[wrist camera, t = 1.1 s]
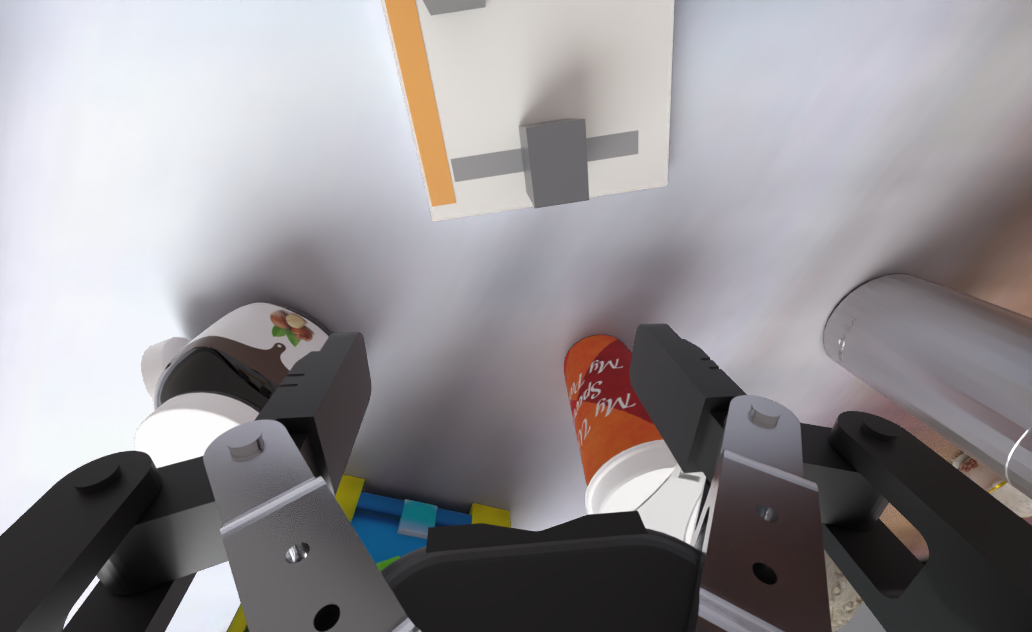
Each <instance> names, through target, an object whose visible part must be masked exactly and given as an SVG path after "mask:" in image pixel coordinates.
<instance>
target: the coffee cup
mask: <svg viewBox="0 0 1032 632" xmlns="http://www.w3.org/2000/svg"><path fill="white" fill-rule="evenodd" d="M631 359H632V353H631V352H630V350H629V349H628V348H627V347H626V346H625V345H624V344H623V343H622V342H621V341H620V340H618V339H617V338H615V337H612V336H609V335H593V336H589V337H587V338H584V339H582V340H580V341H579V342H577V343H576V344H575V345H574V346H573V347H572V348H571V349H570V350H569V352H568V353H567V355H566V358H565V362H564V373H565V380H566V385H567V391H568V396H569V401H570V406H571V411H572V416H573V421H574V425H575V430H576V435H577V440H578V445H579V450H580V454H581V459H582V464H583V469H584V474H585V479H586V483H587V490H586V494H585V505H586V510H587V513H588V515H589V514H601V513H614V512H626V511H638V512H639V514H640V517H641V519H642V521H643V524H644V526H645V528H647V529H652V530H655V531H659V532H663V533H665V534H668V535H671V536H673V537H676V538H678V539H680V540H682V541H684V542H686V543H688V544H690V542H691V537H692V533H693V528H694V524H695V519H696V515H697V510H698V506H699V501H700V497H701V492H702V488H703V484H704V481H705V478H706V476H705V475H704V473H703V472H694V473H683V471H682V469H681V468H680V466H679V464H678V463H677V461H676V459H675V458H674V456H673V455H672V453H671V451H670V450H669V448H668V446H667V445H666V443H665V441H664V440H663V438H662V436H661V435H660V433H659V431H658V430H657V428H656V426H655V425H654V423H653V421H652V420H651V418H650V416H649V415H648V413H647V411H646V410H645V408H644V406H643V405H642V403H641V401H640V400H639V398H638V396H637V395H636V393H635V391H634V390H633V388H632V385H631V381H630V364H631Z"/></svg>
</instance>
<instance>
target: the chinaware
mask: <svg viewBox="0 0 1032 632" xmlns="http://www.w3.org/2000/svg"><path fill="white" fill-rule="evenodd" d="M951 461H953V466H954V467H955V468H957V469H958V470H959V471H960V472H962V473H963V474H964V475H966V476H967V477H968V478H970V479H971V480H972V481H974V482H975V483H976V484H978V485H979V486H980V487H982V488H983V489H984V490H985V491H987V492H988V493H989V494H991V495H992V496H993V497H995V498H996V499H997V500H999V501H1000V502H1001V503H1003V504H1004V505H1005V506H1007V507H1008V508H1009V509H1010V510H1012V511H1013V512H1014V513H1016V514H1017V515H1018V516H1020V517H1021V518H1028V517H1032V499H1030V498H1029V497H1027V496H1026V495H1025V494H1023V493H1022V492H1020V491H1019V490H1018V489H1016V488H1014V487H1013V486H1011V485H1010V484H1008V483H1007V482H1006V481H1004V480H1003V479H1001V478H1000V477H998V476H997V475H996V474H994V473H993V472H991V471H990V470H989V469H987V468H986V467H984V466H983V465H981V464H980V463H979V462H977V461H976V460H974V459H973V458H971V457H970V456H969V455H967V454H966V453H963V454H961V455H960V456H958V457H957V458H956V459H953V460H951Z"/></svg>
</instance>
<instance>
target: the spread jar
mask: <svg viewBox="0 0 1032 632" xmlns="http://www.w3.org/2000/svg"><path fill="white" fill-rule="evenodd" d="M330 334H331V333H330V332H329V331H328V330H327V329H326V328H325V327H324V326H323V325H322V324H321V323H319V322H318V321H317V320H315V319H314V318H312V317H310V316H308V315H306V314H304V313H302V312H300V311H298V310H295V309H292V308H289V307H286V306H282V305H278V304H273V303H262V302H261V303H252V304H248V305H245V306H242V307H239V308H237V309H235V310H234V311H232V312H230V313H228V314H227V315H225V316H224V317H222V318H221V319H219V320H218V321H216V322H215V323H214V324H212V325H211V326H210V327H208V328H207V329H206V330H204V331H203V332H202V333H200V334H199V335H198V336H196V337H195V338H194V339H193V340H192V341H190V340H188V339H186V338H182V337H173V338H170V339H168V340H165V341H162V342H160V343H157V344H155V345H152V346H150V347H149V348H148V349H147V350H146V351H145V353H144V355H143V357H142V362H141V372H142V377H143V381H144V384H145V387H146V390H147V392H148V393H149V395H150V397H151V399H152V401H153V406H154V412H153V413H152V414H151V415H149V416H148V417H147V418H146V419H145V420H144V421H143V422H142V423H141V425H140V426H139V427H138V429H137V432H136V435H135V448H136V451H141V452H145V453H147V454H148V455H149V456H150V457H151V459H152V461H153V462H154V464H155V466H156V468H159V467H163V466H167V465H171V464H174V463H178V462H182V461H186V460H190V459H193V458H197V457H201V456H204V453H205V451H206V449H207V447H208V446H209V445H210V444H211V443H212V442H213V441H214V440H215V439H216V438H217V437H218V436H220V435H221V434H223V433H224V432H226V431H228V430H230V429H231V428H234V427H236V426H238V425H241V424H244V423H247V422H251V421H254V420H255V419H256V417H257V416H258V414H259V413H260V412H261V410H262V409H263V407H264V406H265V405H266V403H267V402H268V400H269V399H270V398H271V396H272V395H273V393H274V392H275V391H276V389H277V388H278V387H280V384H281V382H282V381H283V379H284V378H285V377H287V374H288V372H289V371H290V370H291V368H292V367H293V365H294V364H295V363H296V362H297V361H298V360H300V359H301V358H303V357H304V356H305V355H307V354H308V353H310V352H311V351H320V350H321V348H322V347H323V345H324V344H325V342H326V340H327V339H328V337H329V336H330Z"/></svg>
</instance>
